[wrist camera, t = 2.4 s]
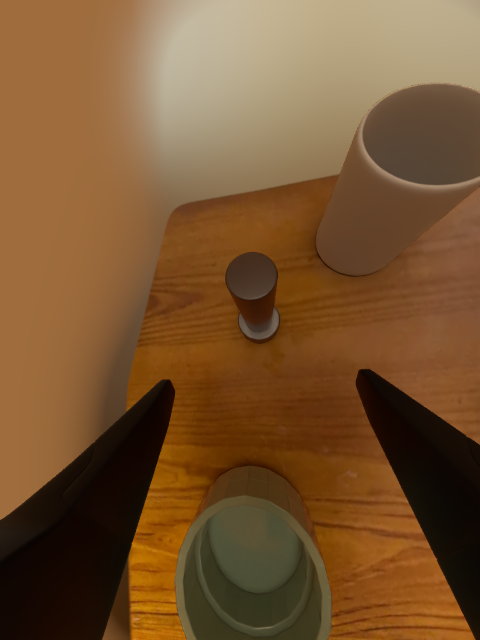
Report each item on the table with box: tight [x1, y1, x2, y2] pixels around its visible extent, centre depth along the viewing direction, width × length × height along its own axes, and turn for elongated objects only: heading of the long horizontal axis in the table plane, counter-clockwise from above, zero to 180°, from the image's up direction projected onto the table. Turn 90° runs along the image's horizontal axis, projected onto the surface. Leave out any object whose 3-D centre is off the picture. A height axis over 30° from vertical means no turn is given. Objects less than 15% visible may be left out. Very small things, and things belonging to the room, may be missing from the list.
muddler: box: [225, 252, 280, 343], centre depth 16 cm, size 4×4×12 cm
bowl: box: [175, 465, 332, 640], centre depth 15 cm, size 10×10×5 cm
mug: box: [316, 83, 480, 276], centre depth 17 cm, size 12×8×11 cm
